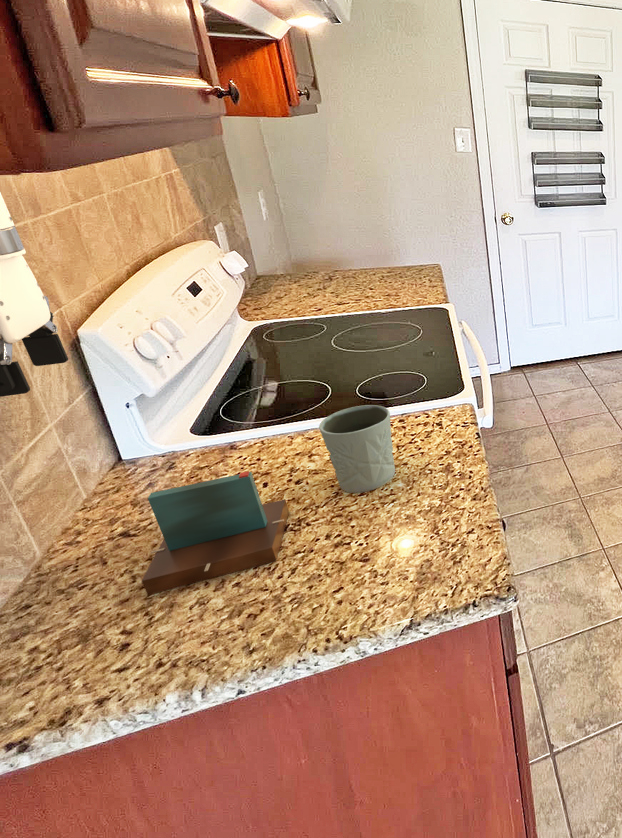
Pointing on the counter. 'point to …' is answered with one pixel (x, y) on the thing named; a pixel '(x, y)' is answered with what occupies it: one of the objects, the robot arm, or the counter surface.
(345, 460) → the drinking glass
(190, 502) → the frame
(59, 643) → the counter surface
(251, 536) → the frame stand
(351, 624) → the counter surface
